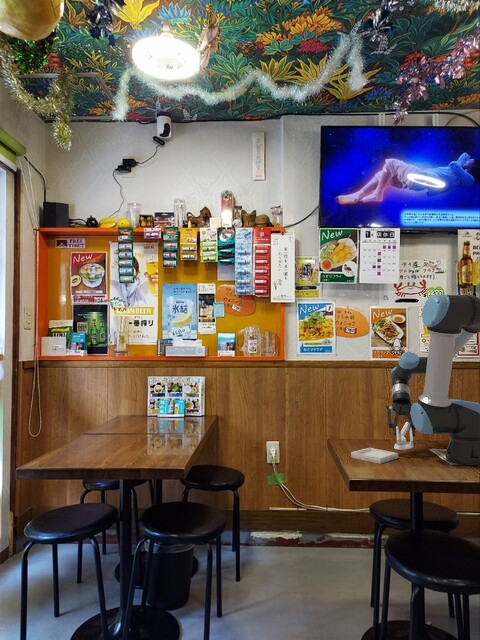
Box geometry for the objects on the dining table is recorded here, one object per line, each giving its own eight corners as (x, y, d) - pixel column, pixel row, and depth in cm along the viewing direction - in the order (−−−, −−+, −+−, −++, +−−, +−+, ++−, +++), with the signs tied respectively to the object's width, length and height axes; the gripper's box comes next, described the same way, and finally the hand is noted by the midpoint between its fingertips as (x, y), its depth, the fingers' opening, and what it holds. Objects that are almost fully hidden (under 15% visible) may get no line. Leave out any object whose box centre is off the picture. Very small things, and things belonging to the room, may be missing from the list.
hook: (426, 432, 176) (413, 425, 174) (412, 459, 176) (398, 451, 174) (416, 426, 183) (403, 419, 182) (402, 451, 183) (389, 444, 182)
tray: (398, 458, 174) (398, 453, 174) (380, 463, 166) (380, 458, 166) (369, 452, 184) (369, 447, 184) (351, 457, 175) (351, 452, 175)
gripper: (422, 402, 192) (428, 448, 175) (380, 401, 197) (381, 446, 180) (423, 391, 188) (429, 437, 170) (380, 390, 193) (381, 435, 176)
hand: (404, 442), depth 175 cm, fingers closed on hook, 4 cm apart
